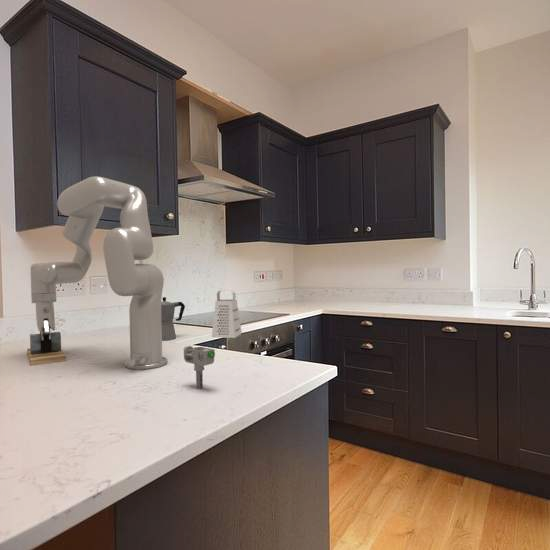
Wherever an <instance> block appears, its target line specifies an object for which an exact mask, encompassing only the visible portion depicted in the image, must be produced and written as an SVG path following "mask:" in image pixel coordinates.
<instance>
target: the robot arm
mask: <svg viewBox="0 0 550 550" xmlns="http://www.w3.org/2000/svg"><path fill="white" fill-rule="evenodd" d="M56 204H57V205H56V206H57V207H56V208H57V209H58V211H59V212H60V214H62V215H63V216H67V217H68V218H67V220H66V223H65V225H64V227H63V229H62V235H63V237H64V238H65V239H66V240H68V241H69V242H70V243H72V244H74V245H75V247H76V248H75V249H76V251H75V255H74V256H73V259H72V260H71V261H49V262H36V263H33V264H31V265H30V295H31V296H30V299H31V304H35V313H36V314H35V317H36V327H37V330H38V331H39V334H41V352H47V351H51V350H52V344H51V333H52V332H51V330H52V331H53V332H54V331H55V330H56V322H55V321H56V320H55V319H56V317H55V307H54V306H55V305H54V303H57V285H62V284H76V283H79V282H81V281H82V280H83V279H84V278H85V276H86V274H87V273H88V271H89V269H90V266H91V264H92V259H93V257H92V256H93V255H92V249H91V245H90V240H91V237H92V236H93V234H94V231H95V229H96V227H97V225H98V223H99V221H100V219H101V216H102V214H103V211H104V208H105V207H108V208H113V209H121V211H120V215H119V222H120V227H114V228H112V229H111V230H109V231H108V232H107V234H106V235H105V237H104V239H103V243H102V247H103V248H102V250H103V257H104V261H105V266H106V267H105V268H106V273H107V278H108V283H109V287H110V288H111V290H112V291H113V292H114V293H115V294H116V295H117V296H119V297H131V299H130V300H131V301H130V304H129V310H128V314H129V318H128V319H129V348H130V349H129V350H130V352H129V353H130V354H129V355H130V359H128V360H127V361H125V362H124V364H125V365H124V366H125V368H127V369H131V370H145V369H146V370H148V369H153V368H154V369H155V368H159V367H163V366H165V365H167V364H168V358H167V357H165V356H163V341H162V325H161V302H162V298H163V297H162V295H163V290H164V289H163V288H164V283H165V281H164V280H165V279H164V274H163V272H162V270H161V269H160V268H159V267H158V266H156V265H154V264H150V263H135V261H142V260H147V259H149V258H150V257H151V256H152V255H153V253H154V243H153V237H152V231H151V226H150V225H151V224H150V220H149V219H150V218H149V215H148V204H147V198H146V195H145V193H144V192H143V190H141V189H140V188H139V187H137V186H135V185H133V184H128V183H125V182H122V181H118V180H114V179H111V178H107V177H103V176H90V177H87V178H86V179H85V178H84V179H82V180H81V181H80V182H77V183H75V184H73V185H71V186H69V187H68V188H66V189H64V190H63V191H62V192H61V193H60V194H59V196H58V199H57V203H56Z"/></svg>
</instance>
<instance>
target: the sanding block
mask: <svg viewBox="0 0 550 550" xmlns="http://www.w3.org/2000/svg"><path fill="white" fill-rule="evenodd" d="M50 333H51V344H52V350H51V351H58V350H62V336H61V335H62V334H61V332H60V331H55V332H54V331H53V332H50ZM29 340H30V341H29V344H30V345H29V346H30V351H31V354H33V353H41V334H40V333H33V334H29ZM47 352H50V351H47Z"/></svg>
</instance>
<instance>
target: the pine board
mask: <svg viewBox="0 0 550 550" xmlns="http://www.w3.org/2000/svg"><path fill="white" fill-rule="evenodd" d="M26 353H27V357H28V361H29V363H30V366H37V365H44V364H49V363H50V364H51V363H59V362H60V363H61V362H66V361H67V356H66V354H65V353H64V351H63V350H62V349H61V350H58V351H50V352H41V353H33V354H31V351H30V348H26Z"/></svg>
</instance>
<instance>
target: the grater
mask: <svg viewBox="0 0 550 550" xmlns="http://www.w3.org/2000/svg"><path fill="white" fill-rule="evenodd" d="M222 291H223V292H231V293H232V299H221V292H222ZM213 311H214V313H213V321H212V322H213V323H212V332H211V338H222V339H223V338H227V339H229V338H230V339H235V338H237V337H239V336H240V335H242V333H243V331H242V327H241V326H242V325H241V320H240V313H239V307H238V300H237V299H236V292H235V290H233V289H232V290H229V289H228V290H227V289H226V290H225V289H223V290H221V289H220V290H218V291H217V292H216V300H215V303H214V310H213Z"/></svg>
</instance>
